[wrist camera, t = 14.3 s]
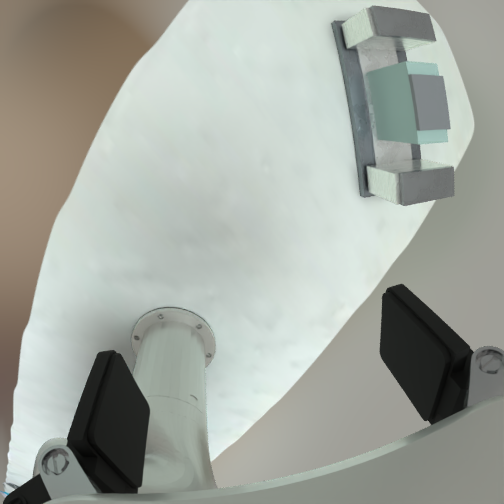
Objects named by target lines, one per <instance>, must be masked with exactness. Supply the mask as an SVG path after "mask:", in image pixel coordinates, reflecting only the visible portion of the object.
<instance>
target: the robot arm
mask: <svg viewBox="0 0 504 504" xmlns="http://www.w3.org/2000/svg"><path fill="white" fill-rule="evenodd" d="M161 314H162V315H161ZM381 321H382V322H381V339H380V355H381V358H382V360H383V361H384V363H385V364H386V366H387V367H388V369H389V370H390V371H391V373H392V374H393V376H394V377H395V379H396V380H397V382H398V383H399V385H400V386H401V387H402V389H403V390H404V392H405V393H406V395H407V396H408V398H409V399H410V400H411V402H412V404H413V405H414V407H415V408H416V410H417V411H418V413H419V414H420V416H421V417H422V418H423V420H424V421H427V420H428V421H429V422H430V424H431V426H429V427H427V428H425V429H423V430H420V431H418V432H416V433H414V434H411V435H409V436H407V437H405V438H402V439H400V440H398V441H395V442H393V443H390V444H388V445H385V446H383V447H381V448H378V449H376V450H373V451H370V452H367V453H364V454H362V455H359V456H356V457H353V458H350V459H347V460H344V461H341V462H338V463H335V464H331V465H328V466H325V467H322V468H318V469H314V470H311V471H307V472H303V473H299V474H295V475H291V476H286V477H282V478H277V479H273V480H268V481H263V482H257V483H252V484H246V485H240V486H233V487H226V488H219V489H218V488H217V486H216V482H215V479H214V475H213V472H212V467H211V462H210V456H209V447H208V432H207V407H206V373H205V368H206V367H207V366H208V365H209V364H210V363H211V361H212V359H213V357H214V354H215V346H216V345H215V338H214V335H213V332H212V330H211V329H210V327H209V326H208V324H207V323H206V322H205V321H204V320H202V319H201V318H200V317H199V316H197V315H195V314H193V313H191V312H189V311H186V310H183V309H177V308H162V309H157V310H154V311H151V312H149V313H147V314H146V315H144V316H143V317H142V318H141V319H140V320H139V321H138V322H137V324H136V325H135V327H134V330H133V333H132V348H133V351H134V353H135V355H136V357H137V360H136V364H135V368H134V372H133V376H132V374H131V372H130V370H129V368H128V367H127V365H126V363H125V361H124V359H123V357H122V355H121V354H119V353H118V354H117V353H116V352H115V351H114V350H110V351H103V352H99V353H98V354H97V357H96V359H95V362H94V364H93V367H92V369H91V372H90V375H89V377H88V380H87V382H86V385H85V388H84V391H83V393H82V396H81V399H80V402H79V404H78V407H77V410H76V413H75V416H74V419H73V422H72V425H71V428H70V431H69V434H68V437H67V439H66V438H53V439H50V440H48V441H46V442H45V443H44V444H43V445H42V446H41V448H40V450H39V451H38V454H37V457H36V460H35V464H34V470H33V478H32V479H31V480H29V481H28V482H26V483H25V484H23V485H22V486H20V487H19V488H17V489H16V490H14V491H13V492H11V493H10V494H9V495H8V496H6V498H5V500H4V502H3V504H504V351H503V350H501V349H499V348H497V347H493V346H484V347H481V348H479V349H477V350H476V351H475V352H473V351H472V350H471V349H470V346H469V345H468V344H467V343H466V342H465V341H464V340H463V339H462V338H460V336H459V335H458V334H456V332H454V331H453V330H452V329H451V328H450V327H449V326H448V325H447V324H446V323H445V322H444V321H443V320H442V319H441V318H440V317H439V316H438V315H436V314H435V313H434V312H433V311H432V310H431V309H430V308H429V307H428V306H427V305H426V304H424V303H423V302H422V301H421V300H420V299H419V298H418V297H417V296H416V295H414V294H413V293H412V292H411V291H410V290H409V289H408V288H407V287H405V286H404V285H403V284H399V285H396V286H392V287H389V288H387V290H386V293H384V294H383V296H382V319H381Z"/></svg>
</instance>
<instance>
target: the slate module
mask: <svg viewBox="0 0 504 504" xmlns="http://www.w3.org/2000/svg"><path fill="white" fill-rule="evenodd" d="M367 76H368V81H369V86H370V92H371V98H372V103H373V110H374V116H375V123H376V130H377V137H378V140H385V141H395V142H403V143H411V144H429V143H442V142H448V136H447V129H450V120H449V112H448V104H447V97H446V91H445V85H444V79H443V76H439V72H438V67H437V64H434V63H423V62H409V61H405V62H401V63H397V64H394V65H390V66H387V67H383V68H380V69H376V70H373V71H370V72H367Z"/></svg>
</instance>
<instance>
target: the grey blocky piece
mask: <svg viewBox="0 0 504 504" xmlns="http://www.w3.org/2000/svg"><path fill="white" fill-rule="evenodd" d="M331 24H332V28H333V32H334V36H335V40H336V44H337V49H338V53H339V58H340V62H341V67H342V72H343V77H344V82H345V88H346V93H347V99H348V104H349V110H350V117H351V123H352V130H353V137H354V144H355V152H356V160H357V168H358V177H359V187H360V196H362V197H364V198H365V197H370V196H378V197H381V198H383V199H385V200H388V201H390V202H392V203H394V204H396V205H397V204H401V205H403V206H407V205H412V204H417V203H422V202H427V201H432V200H437V199H442V198H446V197H452V196H454V167H452V166H450V165H446V164H442V163H437V162H433V161H428V160H423V159H421V153H420V144H411V143H403V142H395V141H385V140H378V137H377V130H376V123H375V116H374V110H373V103H372V98H371V92H370V86H369V81H368V76H367V72H370V71H373V70H376V69H380V68H383V67H387V66H390V65H394V64H397V63H401V62H405V61H407V57H406V53H405V51H406V50H410V49H413V48H416V47H420V46H423V45H427V44H430V43H434V42H435V41H436V38H435V34H434V30H433V26H432V23H431V19H430V16H429V14H426V13H421V12H415V11H409V10H403V9H397V8H389V7H381V6H371V7H370V8H365V9H363V10H362V11H360V12H359V13H357V14H356V15H354V16H353V17H351V18H350V19H348V20H347V21H334V22H333V23H331Z"/></svg>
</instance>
